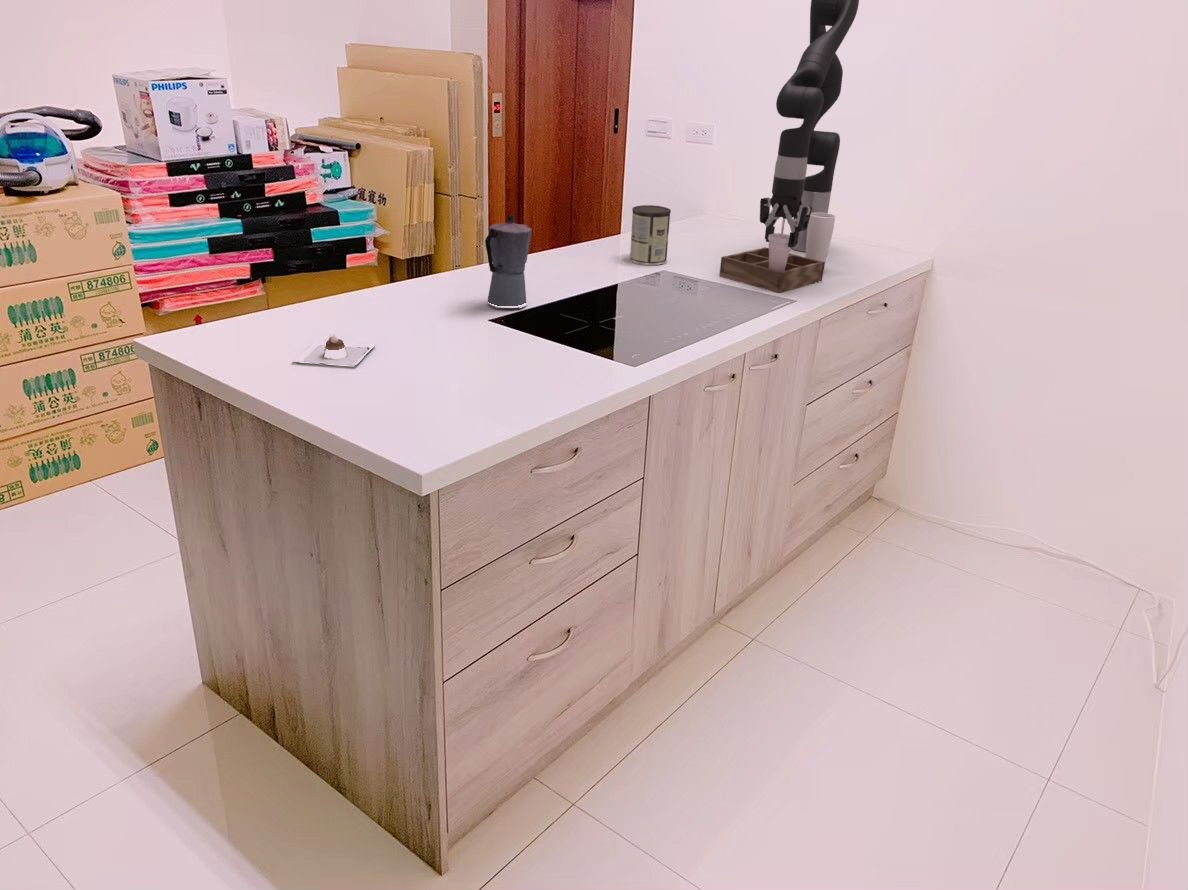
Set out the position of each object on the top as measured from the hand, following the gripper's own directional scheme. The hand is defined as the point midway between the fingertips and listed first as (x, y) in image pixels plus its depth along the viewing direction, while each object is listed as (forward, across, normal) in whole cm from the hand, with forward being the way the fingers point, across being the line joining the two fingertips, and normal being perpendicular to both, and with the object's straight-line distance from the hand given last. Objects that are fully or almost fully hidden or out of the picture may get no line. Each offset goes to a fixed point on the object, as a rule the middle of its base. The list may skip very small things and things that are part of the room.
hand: (780, 244), depth 218 cm
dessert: (+11, +20, +112) cm, 114 cm away
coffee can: (+11, +35, +10) cm, 38 cm away
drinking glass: (+11, +2, -21) cm, 24 cm away
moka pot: (+11, +25, +67) cm, 72 cm away
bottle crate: (+11, +4, -4) cm, 12 cm away
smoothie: (+8, 0, 0) cm, 8 cm away
